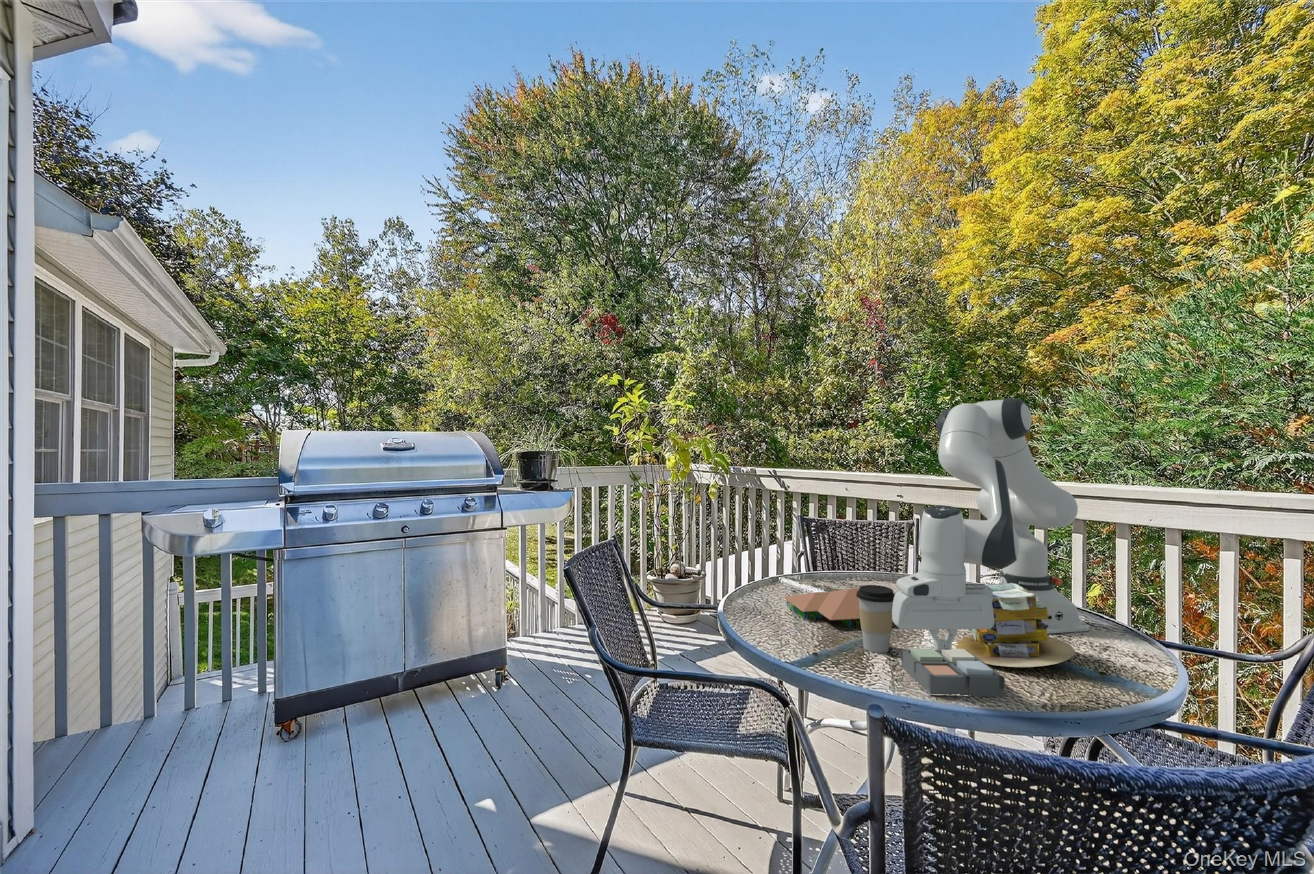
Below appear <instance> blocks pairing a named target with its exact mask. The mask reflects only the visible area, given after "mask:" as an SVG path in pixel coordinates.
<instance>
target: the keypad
mask: <svg viewBox="0 0 1314 874" xmlns="http://www.w3.org/2000/svg"><path fill="white" fill-rule="evenodd" d="M934 650H935V651H936V652H937V653H939V654H940V655H941V656H942V657H943V662H935V661H918V660H917V659H916V658H914V657H913V656H912V655H911V648H910V649H909V648H907V649H906V648H905V649H904V648H902V649H901V652H900V653H901V654H900V655H901V657H900V658H901V659H900V661H901V662H900V663H901V665H900V667H901V668H902V669H903V670H904V672H905V673H907V675H909V676H910V678H912V679H913V680H914V679H915V680H914V681H915V682H916V681H917V682H918V683H917V682H916V683H917V684H918V685H919V684H920V685H921V686H922V687H923V688H924V689H925V690H927V691H928V692H929V693H930V694H960V695H968V696H967V697H973V696H1004V697H1005V676H1003V675H1001V674H1000V673H999V672H997V670H995V669H994V668H992V667H991V666H989V664H985V663H984V662H983V661H981V660H980V659H979V658H977V657H976V656H975V655H973V654H972V653H971V652H969V651H968V650H966V651H967V652H969V653H970V654H971V655H973V656H974V657H975V661H981V662H982V663H984V664H985V665H986V666H988V667H989V668H990V669H992V670H993V675H967V674H965V673H964V672H963V671H962V670H961V669H959V668H958V667H957V662H951V661H950V660H948V659H947V658H946V657H945V656H943V655H942V650H937V649H934ZM924 665H934V666H948V667H949V668H951V669H952V670H953V671H954V672H955V673H957V674H958V675H933V674H932V673H931V672H930V671H929V670H927V669H926V668H925V667H924ZM920 685H919V686H920ZM921 686H920V687H921ZM922 687H921V688H922ZM923 688H922V689H923ZM924 689H923V690H924ZM925 690H924V691H925ZM969 695H970V696H969Z"/></svg>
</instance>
